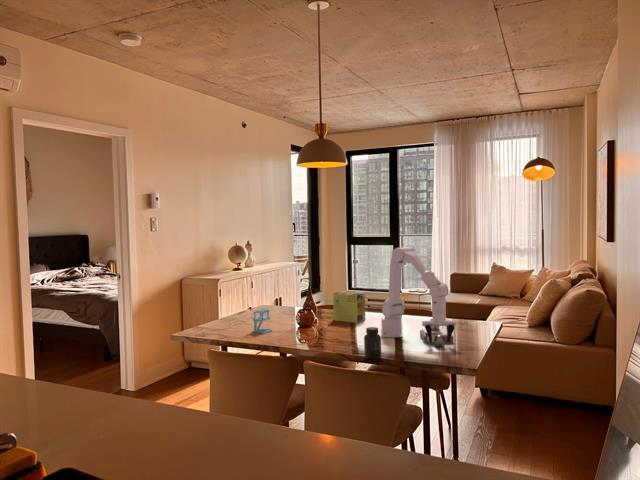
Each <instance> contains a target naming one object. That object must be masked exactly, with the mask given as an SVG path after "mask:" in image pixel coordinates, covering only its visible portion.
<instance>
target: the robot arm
mask: <svg viewBox="0 0 640 480" xmlns="http://www.w3.org/2000/svg"><path fill="white" fill-rule="evenodd" d="M406 263H407V264H411V265H412V266H413V268H414V269H415V270H416V271H417V272H418V273H419V274H420V275H421V277H420V280H421V281H422V282H423V283H424V284H425V286H426V287H427V288H428V289H429V290H428V292H429V295H430V297H431V301H432V302H431V303H432V304H431V305H432V307H431V309H432V319H433V321H431V320H422V321H421V325H422V327H424V329H426V331H427V333H428V337H429V342H430V343H432V336H431V335H432V328H431V326H439V327H446V330H447V342H448V343H447V344H451V343H450V338H451V335H453V332H454V331H455V327H457V321H456V320H447V306H446V305H447V296H448V295H449V287H448V285H447V284H446V283H444V282H441V281H440V280H439V279H438V277H437V276H436V274H435V272H434V271H432V270H428V269H427V268H426V266H425V265H424V263H423V262H422V260H421V259H420V258H419V255H418V252H417V251H416V249H415V248H414V247H413V246H408V247H396V248H394V249H393V250H392V251H391V258H390V262H389V283H388V284H389V285H388V297H387V298H386V299H385V300H384V301H383V306H382V309H381V312H382V315H383V316H384V317H381V330H380V334H381V335H382V336H381V337H382V338H403V334H402V320H401V319H402V317H403V314H404V313H405V306H404V301H403V299H402V298H401V285H402V270H403V269H402V268H403V265H405V264H406ZM435 324H436V325H435Z"/></svg>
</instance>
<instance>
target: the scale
mask: <svg viewBox="0 0 640 480" xmlns="http://www.w3.org/2000/svg"><path fill="white" fill-rule="evenodd" d="M438 334H439V335H444V344H454V335H453V334H452V335H451V338H450V343H448V342H447V328H439V331H432V335H431V336H432V343H430V342H429V337H428V333H427V331H426V329H425V328H422V329H420V330H419V337H420V339H421V340H422V342H423V343H424V344H426V345H435V335H438Z"/></svg>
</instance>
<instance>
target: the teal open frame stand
mask: <svg viewBox="0 0 640 480" xmlns="http://www.w3.org/2000/svg"><path fill="white" fill-rule="evenodd" d="M256 313H258V314H259V316H257V315H256ZM252 314H253V316H254V317H252V321H253V333H254V332H255V333H258V334H262V335H265V334H269V333H271V332H273V328H272V329H271V328H261V326H262V324H263V322H265V321H268V320H271V317H270V316H269V315H270V309H268V308H261V309H257V310H255V311H253V313H252ZM264 314H266V316H264ZM257 324H258V325H257Z"/></svg>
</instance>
